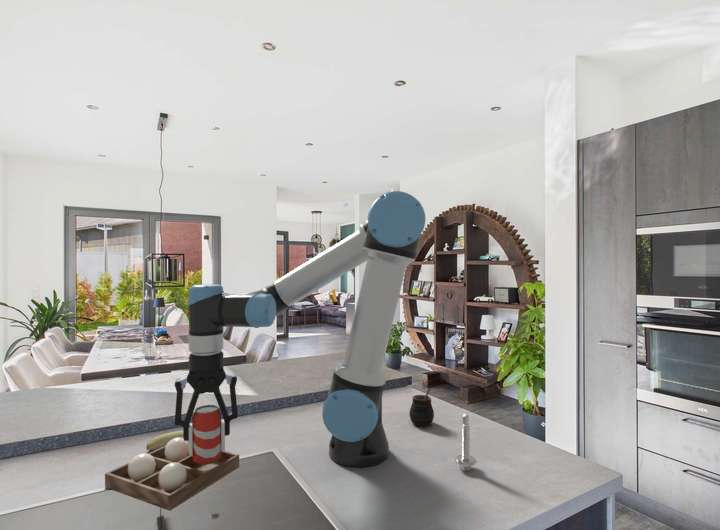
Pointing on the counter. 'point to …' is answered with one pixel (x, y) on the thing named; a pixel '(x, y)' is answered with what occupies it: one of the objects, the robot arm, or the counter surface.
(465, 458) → the screw
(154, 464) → the egg
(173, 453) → the egg
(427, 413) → the mate gourd
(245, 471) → the counter surface
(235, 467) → the crate
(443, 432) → the counter surface
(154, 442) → the fruit
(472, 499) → the counter surface
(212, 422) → the beverage can
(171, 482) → the egg
